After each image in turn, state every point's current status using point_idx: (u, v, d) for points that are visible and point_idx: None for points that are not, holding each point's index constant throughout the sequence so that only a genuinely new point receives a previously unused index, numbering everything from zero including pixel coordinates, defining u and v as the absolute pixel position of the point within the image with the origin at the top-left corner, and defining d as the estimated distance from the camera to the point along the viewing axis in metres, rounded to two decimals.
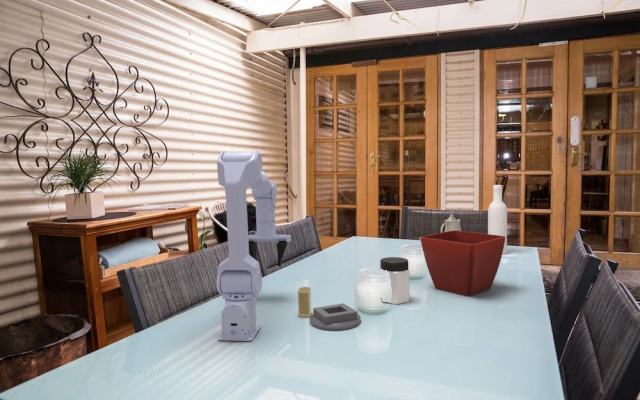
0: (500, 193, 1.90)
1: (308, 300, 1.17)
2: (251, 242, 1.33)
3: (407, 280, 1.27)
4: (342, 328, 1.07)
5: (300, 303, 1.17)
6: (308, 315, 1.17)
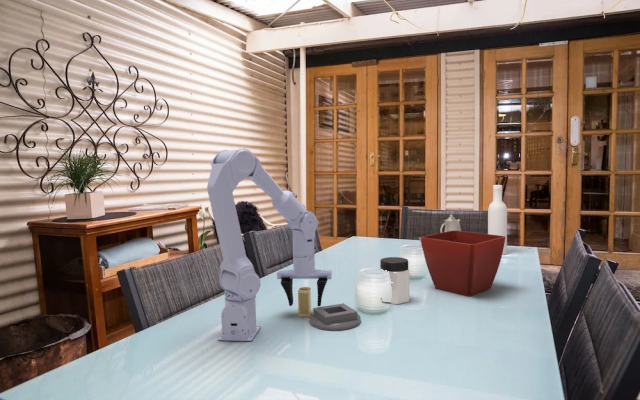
0: (500, 193, 1.90)
1: (308, 300, 1.17)
2: (287, 279, 1.18)
3: (407, 280, 1.27)
4: (342, 328, 1.07)
5: (300, 303, 1.17)
6: (308, 315, 1.17)
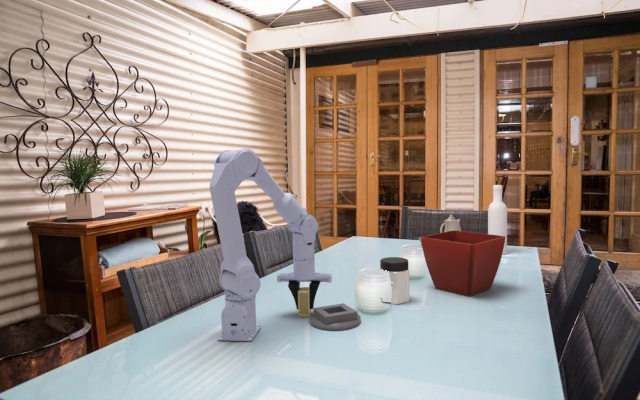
0: (500, 193, 1.90)
1: (308, 300, 1.17)
2: (295, 282, 1.18)
3: (407, 280, 1.27)
4: (342, 328, 1.07)
5: (300, 303, 1.17)
6: (308, 315, 1.17)
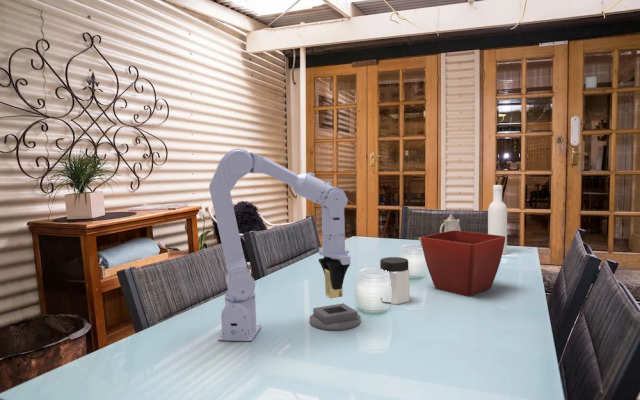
0: (500, 193, 1.90)
1: (329, 280, 1.11)
2: (326, 257, 1.14)
3: (407, 280, 1.27)
4: (342, 328, 1.07)
5: (326, 282, 1.12)
6: (329, 296, 1.11)
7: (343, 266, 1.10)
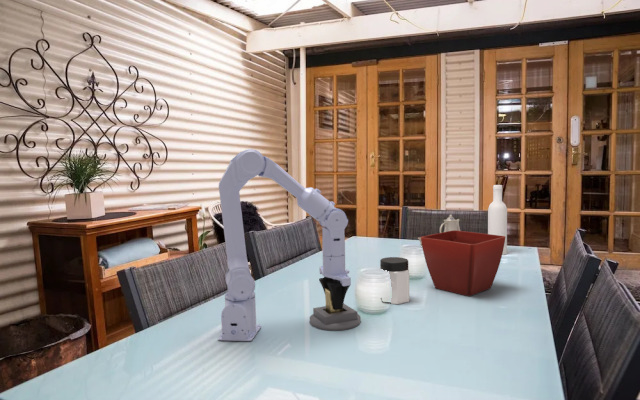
0: (500, 193, 1.90)
1: (330, 301, 1.11)
2: (327, 277, 1.14)
3: (407, 280, 1.27)
4: (342, 328, 1.07)
5: (326, 302, 1.13)
6: None
7: (343, 286, 1.10)
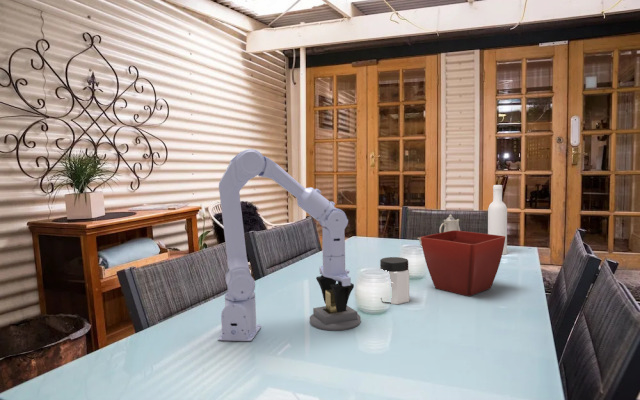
0: (500, 193, 1.90)
1: (330, 302, 1.11)
2: (324, 276, 1.16)
3: (407, 280, 1.27)
4: (342, 328, 1.07)
5: (326, 303, 1.13)
6: None
7: (347, 288, 1.08)
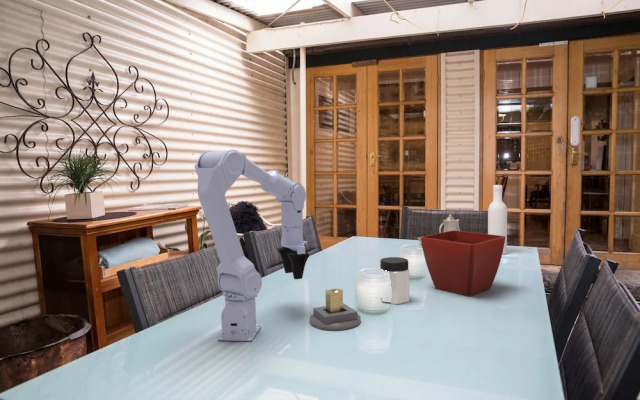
0: (500, 193, 1.90)
1: (330, 302, 1.11)
2: (284, 247, 1.25)
3: (407, 280, 1.27)
4: (342, 328, 1.07)
5: (326, 303, 1.13)
6: None
7: (303, 257, 1.17)
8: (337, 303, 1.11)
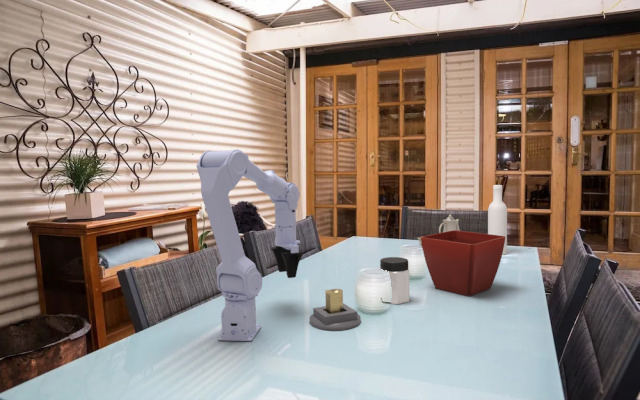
0: (500, 193, 1.90)
1: (330, 302, 1.11)
2: (278, 246, 1.26)
3: (407, 280, 1.27)
4: (342, 328, 1.07)
5: (326, 303, 1.13)
6: None
7: (296, 256, 1.18)
8: (337, 303, 1.11)
